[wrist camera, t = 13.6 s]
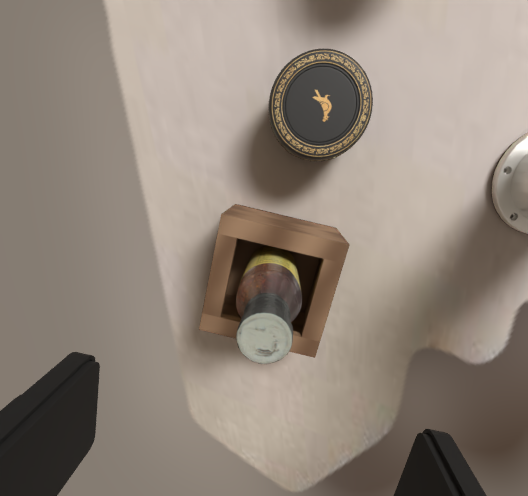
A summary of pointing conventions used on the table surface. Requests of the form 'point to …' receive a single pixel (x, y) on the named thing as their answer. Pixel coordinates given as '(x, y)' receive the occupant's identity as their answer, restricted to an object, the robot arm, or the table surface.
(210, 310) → the walnut box
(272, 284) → the sauce bottle
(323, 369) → the table surface
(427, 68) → the table surface
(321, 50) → the jar
